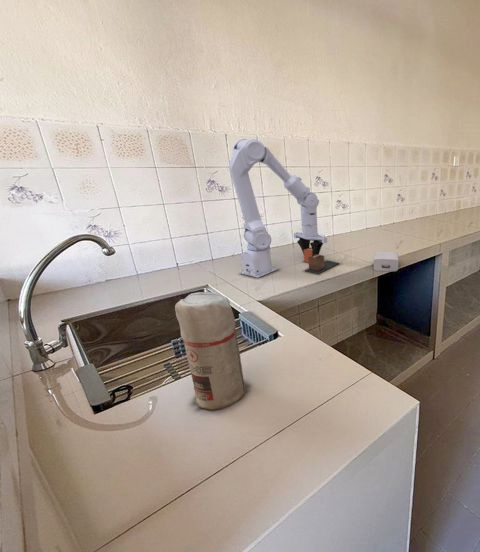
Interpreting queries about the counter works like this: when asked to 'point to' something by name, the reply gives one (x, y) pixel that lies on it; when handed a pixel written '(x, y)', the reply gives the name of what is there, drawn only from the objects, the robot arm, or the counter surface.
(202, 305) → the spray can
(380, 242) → the counter surface
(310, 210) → the robot arm
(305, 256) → the orange block
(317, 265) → the brown block
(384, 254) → the charger
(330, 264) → the small dark keyboard
